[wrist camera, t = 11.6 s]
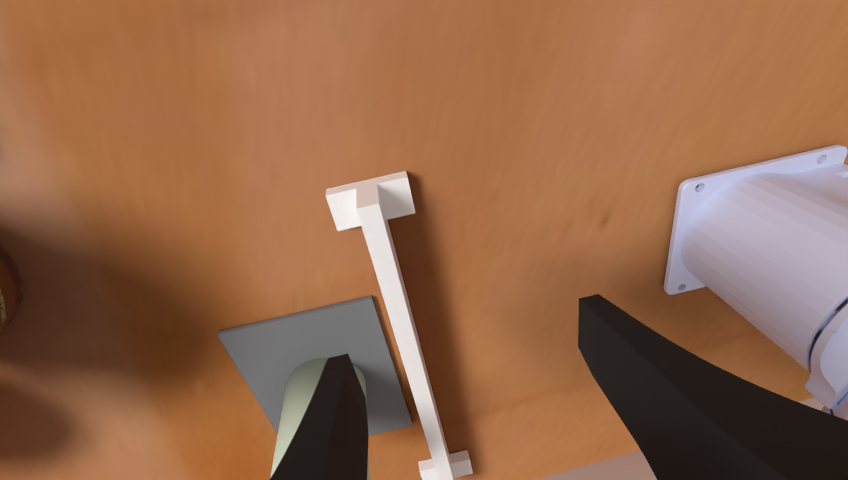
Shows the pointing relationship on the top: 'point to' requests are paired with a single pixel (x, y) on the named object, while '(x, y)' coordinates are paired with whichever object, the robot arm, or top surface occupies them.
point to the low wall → (397, 301)
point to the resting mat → (320, 338)
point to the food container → (8, 289)
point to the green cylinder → (301, 402)
